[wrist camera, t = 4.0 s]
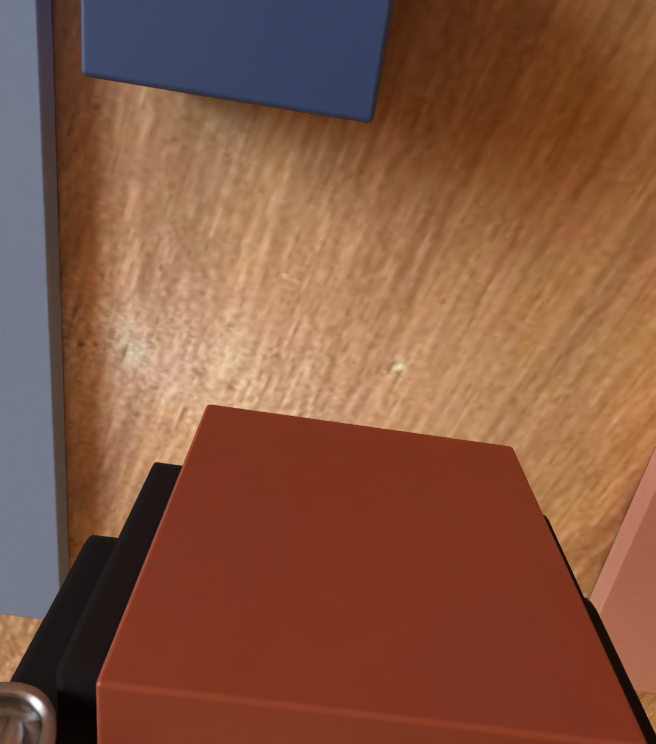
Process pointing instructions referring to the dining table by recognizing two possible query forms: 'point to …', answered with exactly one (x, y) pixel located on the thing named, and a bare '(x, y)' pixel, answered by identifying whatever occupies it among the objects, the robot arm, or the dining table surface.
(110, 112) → the dining table surface
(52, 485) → the blue mat
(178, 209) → the dining table surface
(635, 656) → the terracotta mat
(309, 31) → the blue block
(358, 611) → the terracotta block
